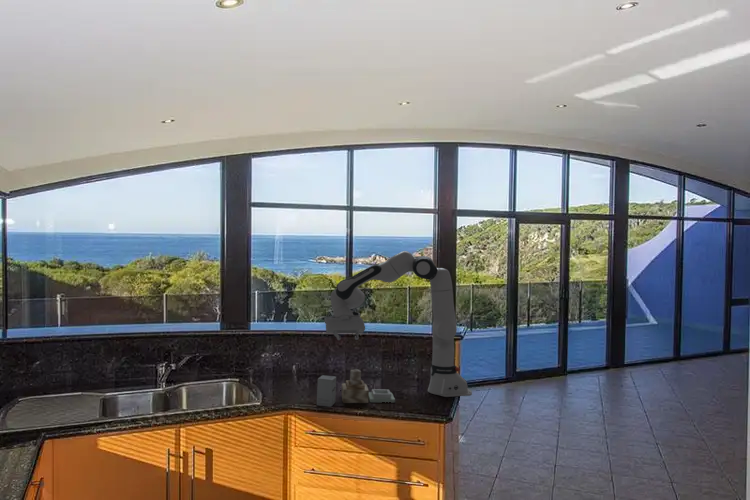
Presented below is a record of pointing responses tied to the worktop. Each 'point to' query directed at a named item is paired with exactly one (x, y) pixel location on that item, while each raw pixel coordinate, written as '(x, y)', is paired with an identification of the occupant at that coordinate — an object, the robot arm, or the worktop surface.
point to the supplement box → (326, 390)
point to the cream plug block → (355, 377)
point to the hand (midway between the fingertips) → (348, 339)
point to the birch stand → (354, 393)
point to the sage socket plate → (381, 396)
